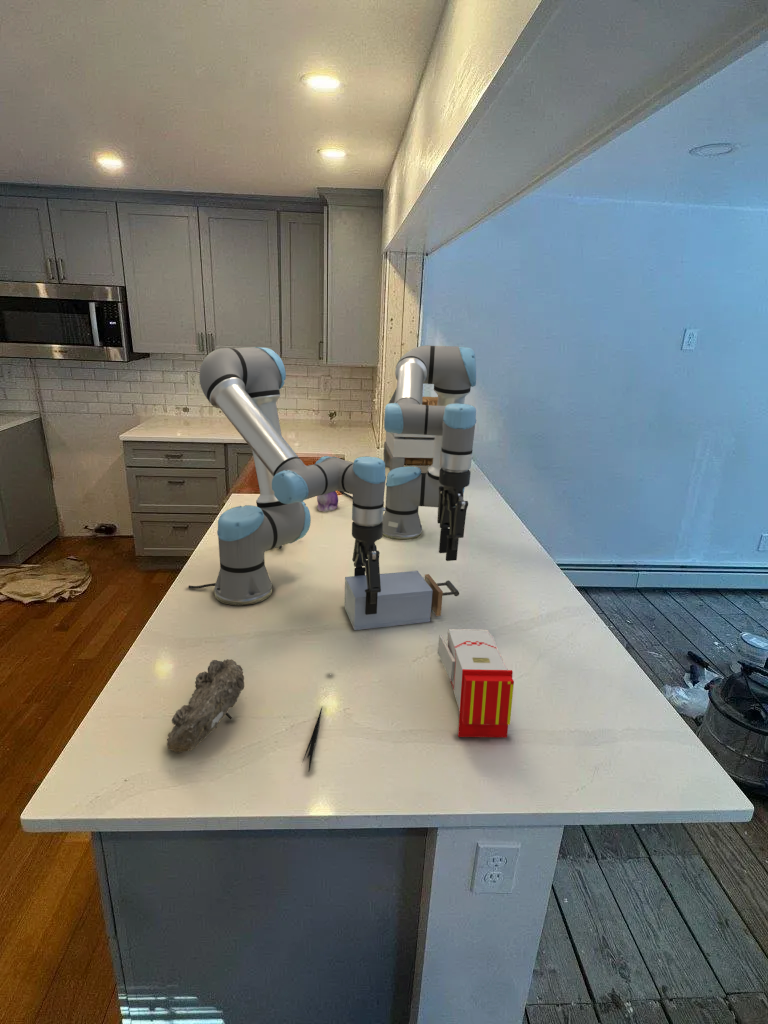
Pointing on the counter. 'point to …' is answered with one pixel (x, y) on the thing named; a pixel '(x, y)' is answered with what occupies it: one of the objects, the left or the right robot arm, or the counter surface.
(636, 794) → the counter surface
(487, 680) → the toy
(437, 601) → the drawer
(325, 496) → the figurine
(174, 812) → the counter surface
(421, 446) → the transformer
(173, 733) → the fossil
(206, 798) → the counter surface
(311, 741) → the feather
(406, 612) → the cabinet
